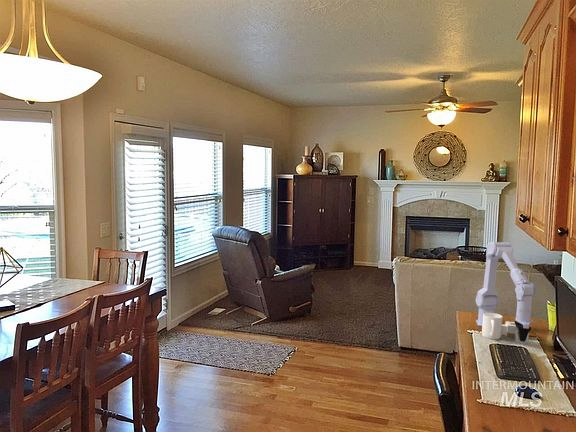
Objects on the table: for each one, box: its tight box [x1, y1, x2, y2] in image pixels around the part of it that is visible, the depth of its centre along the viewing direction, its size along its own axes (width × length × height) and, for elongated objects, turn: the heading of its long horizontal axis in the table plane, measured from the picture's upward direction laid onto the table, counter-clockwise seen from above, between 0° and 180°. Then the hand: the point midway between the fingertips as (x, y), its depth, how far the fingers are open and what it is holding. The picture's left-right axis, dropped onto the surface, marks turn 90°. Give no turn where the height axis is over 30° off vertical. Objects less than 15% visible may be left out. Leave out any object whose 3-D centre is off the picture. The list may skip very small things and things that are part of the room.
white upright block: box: [514, 327, 530, 346], centre depth 213 cm, size 2×5×7 cm, turn 75°
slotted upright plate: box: [501, 320, 530, 340], centre depth 224 cm, size 7×18×6 cm, turn 74°
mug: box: [481, 312, 503, 340], centre depth 219 cm, size 12×8×10 cm
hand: (521, 339), depth 213 cm, fingers open, 4 cm apart
